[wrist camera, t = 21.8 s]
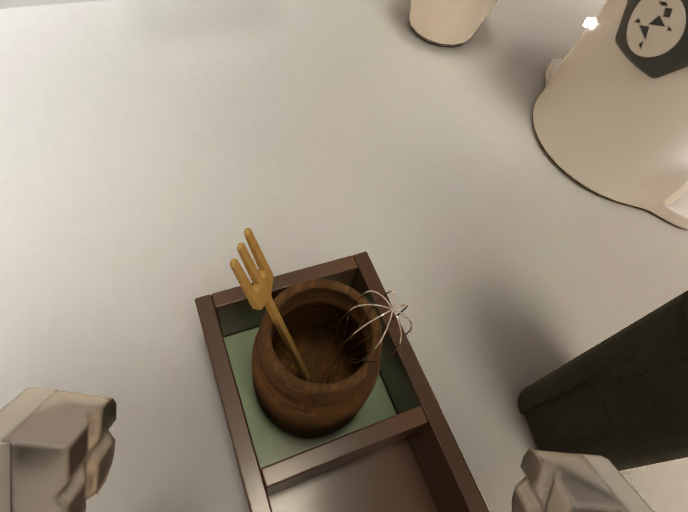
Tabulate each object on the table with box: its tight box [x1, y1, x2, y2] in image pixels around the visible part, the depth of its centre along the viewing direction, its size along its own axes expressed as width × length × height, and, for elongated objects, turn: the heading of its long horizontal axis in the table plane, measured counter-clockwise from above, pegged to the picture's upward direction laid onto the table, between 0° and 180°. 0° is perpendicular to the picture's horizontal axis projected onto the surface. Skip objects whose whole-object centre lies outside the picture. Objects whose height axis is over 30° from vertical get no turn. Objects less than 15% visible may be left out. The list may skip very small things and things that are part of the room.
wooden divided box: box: [195, 252, 489, 512], centre depth 22 cm, size 9×17×5 cm, turn 22°
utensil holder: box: [230, 228, 412, 437], centre depth 20 cm, size 6×6×12 cm
